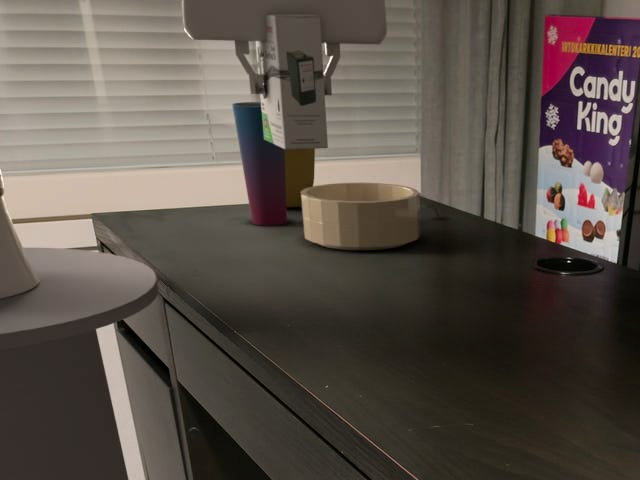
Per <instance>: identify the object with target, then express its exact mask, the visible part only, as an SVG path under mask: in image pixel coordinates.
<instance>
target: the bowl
mask: <svg viewBox="0 0 640 480" xmlns="http://www.w3.org/2000/svg"><path fill="white" fill-rule="evenodd" d="M300 195H301V206H302V207H301V217H302V228H303V229H302V230H303V237H304V239H305V240H307V241H308V242H311V243H314V244H317V245H320V246H322V247H325V248H329V249H336V250H345V251H377V250H388V249H394V248H398V247H402V246H405V245H406V244H409V243H412V242H414V241H416V240H418V239H419V238H420V237H421V215H420V214H421V213H420V210H421V206H420V205H421V203H420V192H419V190H418V189H416V188H413V187H411V186H406V185H401V184H393V183H381V182H337V183H327V184H317V185H313V186H312V187H309V188H305V189H304V190H302V191H301V192H300Z"/></svg>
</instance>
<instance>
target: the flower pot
mask: <svg viewBox="0 0 640 480" xmlns="http://www.w3.org/2000/svg"><path fill="white" fill-rule="evenodd" d="M284 150H285V178H286V206H287V208H302V206H301V195H300V192H301V191H302V190H304V189H305V188H309V187H312V186H314V183H315V167H316V166H315V163H316V161H315V159H316V155H315V154H316V149H288V150H286V149H284Z"/></svg>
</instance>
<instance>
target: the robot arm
mask: <svg viewBox="0 0 640 480" xmlns="http://www.w3.org/2000/svg"><path fill="white" fill-rule="evenodd" d="M181 11H182V23H183V29H184V31H185V33H186V34H187V35H188V36H189V37H190V38H191V39H192V40H194V41H225V42H227V41H228V42H231V41H232V42H234V48H235V49H234V50H235V55H236V57H237V59H238V60H239V62H240V64H241V65H242V68H243V69H244V71H245V72H246V74H247V75H248V79H249V89H250V95H260V94H265V89H264V85H263V83H264V78H263V74H258V73H256V72H255V71H254V69H253V67H252V65H251V64H250V62H249V60H248V58H247V56H246V55H250V42H256V41H263V42H266V41H267V29H266V15H283V14H315V15H319V17H320V22H321V40H322V44H324V51H325V53H324V54H325V55H326V56H327V57H329V60H328V63H327V64H326V67H325V69H324V71H323V76H324V92H325V96H332V94H333V89H332V76H333V74H334V73H335V70H336V68H337V65H338V63H339V62H340V59H341V44H342V45H344V44H347V45H381V44H382V42H384V40H385V39H386V36H387V34H388V24H387V12H386V11H387V10H386V2H385V0H181ZM3 178H4V177H3V174H2V169H1V168H0V299H2V298H6V297H10V296H14V295H17V294H20V293H23V292H26V291H28V290H30V289H32V288H34V287H36V286H37V285H38V284H39V282H40V280H39V278H38V276H37V274H36V273H35V271H34V269H33V267H32V265H31V264H30V262H29V260H28V258H27V256H26V253H25V251H24V249H23V245H22V242H21V241H20V238H19V235H18V233H17V231H16V228H15V224H14V223H13V220H12V218H11V215H10V212H9V209H8V205H7V204H6V200H5V197H4V194H5V189H4V188H5V183H4V179H3Z"/></svg>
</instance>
